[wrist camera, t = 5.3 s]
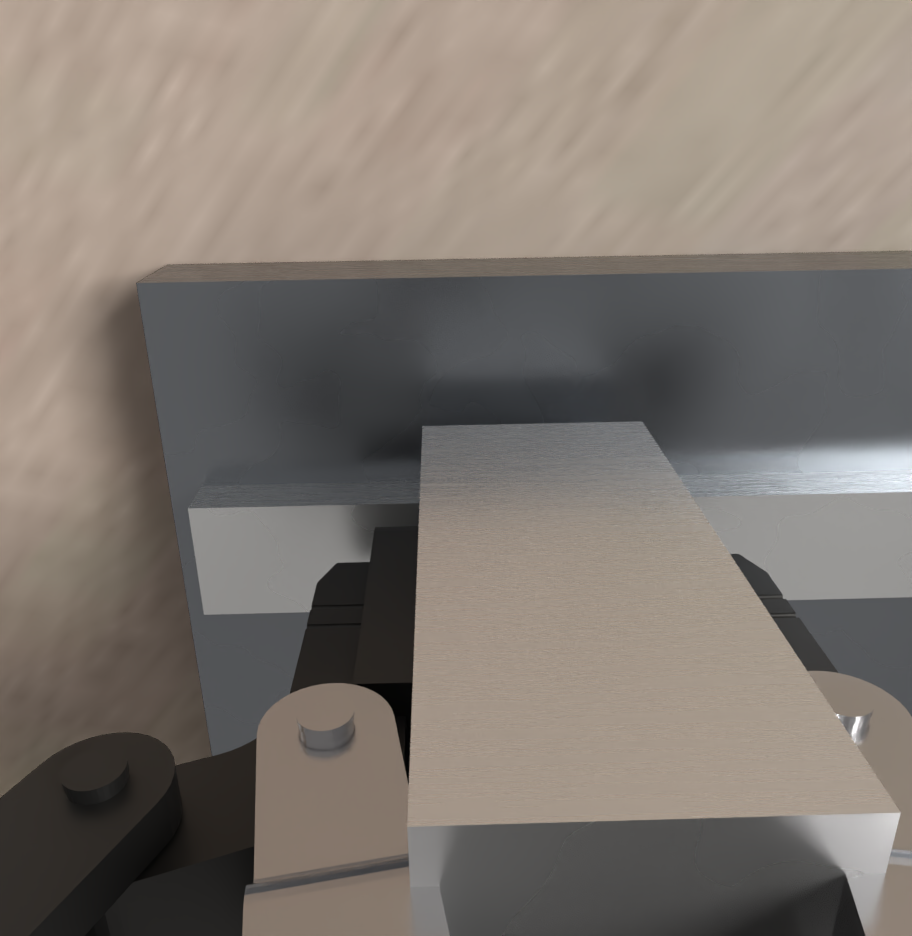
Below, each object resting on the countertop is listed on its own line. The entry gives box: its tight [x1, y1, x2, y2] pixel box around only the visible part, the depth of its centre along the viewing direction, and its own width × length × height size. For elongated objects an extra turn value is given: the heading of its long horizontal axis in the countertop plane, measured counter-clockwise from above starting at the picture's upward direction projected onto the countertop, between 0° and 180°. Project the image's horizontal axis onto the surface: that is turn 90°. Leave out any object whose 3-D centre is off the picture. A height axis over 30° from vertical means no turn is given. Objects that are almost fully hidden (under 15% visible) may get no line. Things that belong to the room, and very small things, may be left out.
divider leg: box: [407, 421, 901, 936], centre depth 10 cm, size 3×8×7 cm, turn 1°
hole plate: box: [136, 251, 912, 756], centre depth 15 cm, size 22×12×2 cm, turn 91°
